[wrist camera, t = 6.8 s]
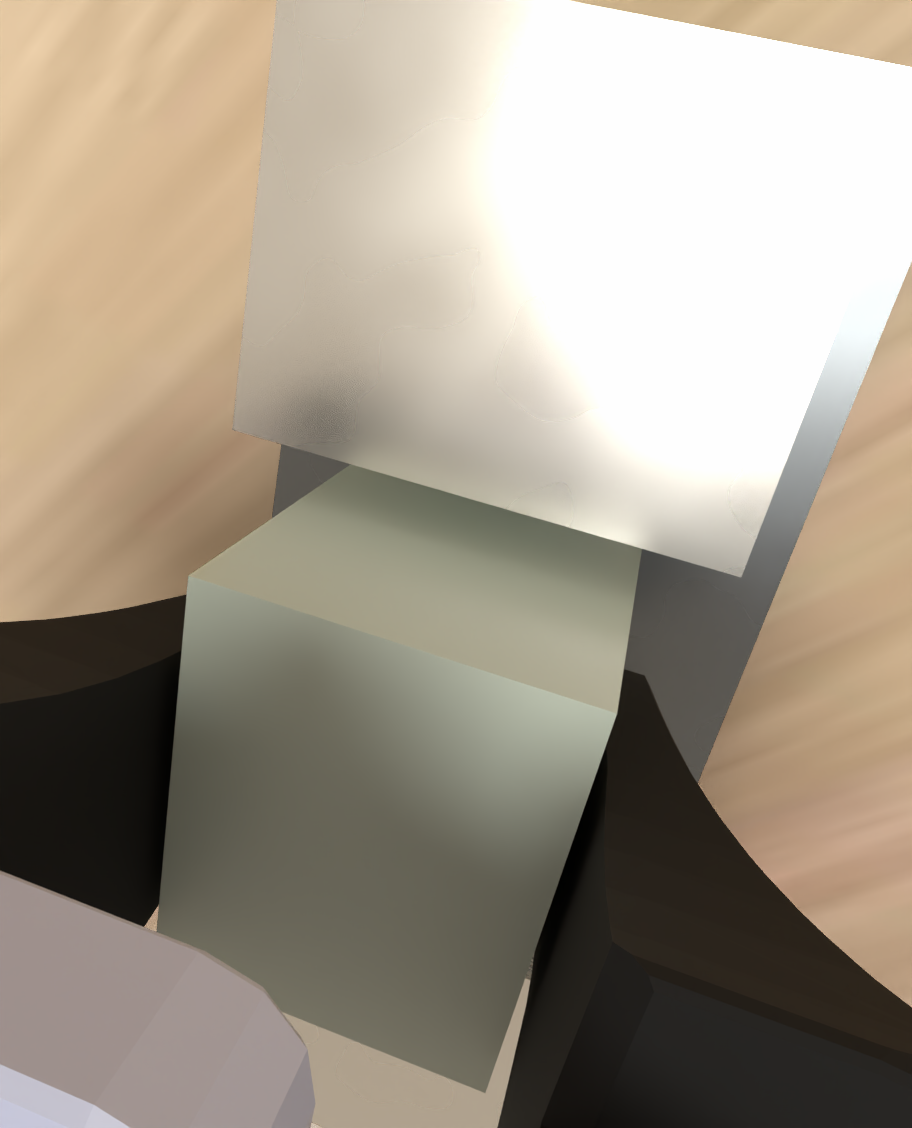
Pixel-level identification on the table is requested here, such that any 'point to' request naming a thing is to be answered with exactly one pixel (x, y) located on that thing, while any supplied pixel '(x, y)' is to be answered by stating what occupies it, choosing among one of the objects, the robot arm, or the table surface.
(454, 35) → the rail board
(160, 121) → the table surface
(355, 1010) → the block
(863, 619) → the table surface
